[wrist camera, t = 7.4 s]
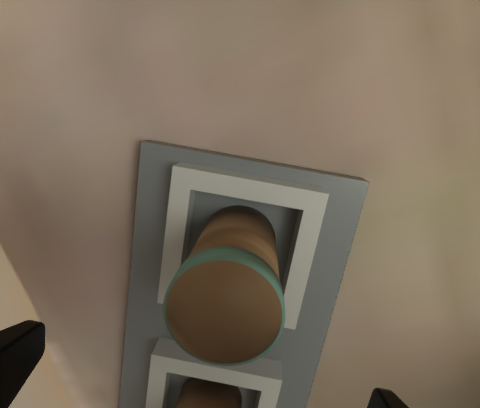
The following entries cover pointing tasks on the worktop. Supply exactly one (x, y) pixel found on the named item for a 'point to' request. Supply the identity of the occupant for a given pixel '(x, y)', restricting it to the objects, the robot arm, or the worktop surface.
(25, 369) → the robot arm
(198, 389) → the seated sleeve
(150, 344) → the socket board
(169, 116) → the worktop surface
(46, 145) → the worktop surface
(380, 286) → the worktop surface
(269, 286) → the sleeve
